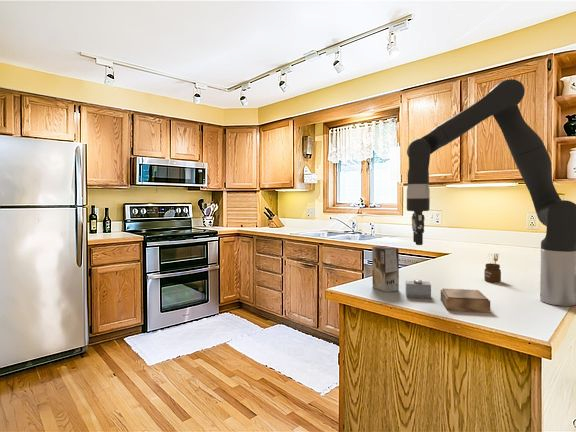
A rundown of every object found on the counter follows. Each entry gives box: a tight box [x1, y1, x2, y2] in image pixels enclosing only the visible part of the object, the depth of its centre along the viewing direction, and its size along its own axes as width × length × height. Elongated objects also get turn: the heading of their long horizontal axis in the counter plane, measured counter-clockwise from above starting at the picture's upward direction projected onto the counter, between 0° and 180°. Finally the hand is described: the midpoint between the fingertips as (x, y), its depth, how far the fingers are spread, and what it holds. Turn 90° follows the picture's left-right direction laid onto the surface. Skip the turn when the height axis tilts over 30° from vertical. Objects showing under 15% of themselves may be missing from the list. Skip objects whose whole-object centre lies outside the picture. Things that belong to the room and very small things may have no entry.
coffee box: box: [371, 245, 400, 293], centre depth 136 cm, size 9×6×16 cm
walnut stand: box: [440, 288, 491, 314], centre depth 113 cm, size 12×12×4 cm
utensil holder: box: [483, 253, 502, 284], centre depth 146 cm, size 6×6×12 cm
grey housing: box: [405, 279, 432, 300], centre depth 125 cm, size 8×5×6 cm, turn 75°
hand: (417, 243), depth 125 cm, fingers open, 8 cm apart
